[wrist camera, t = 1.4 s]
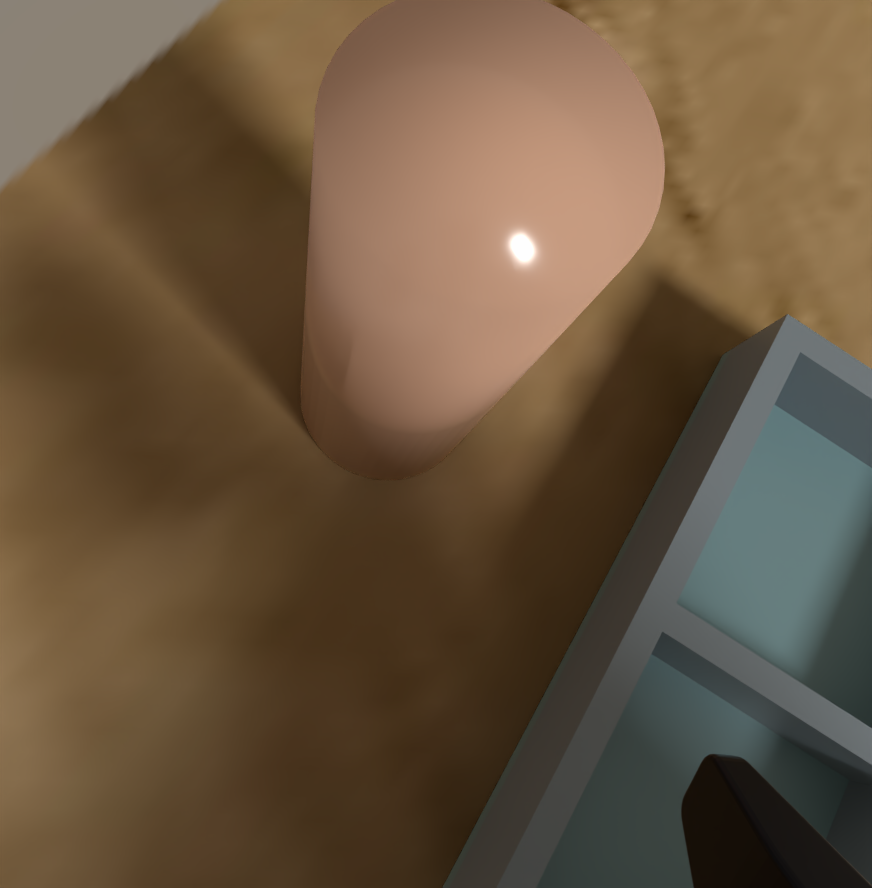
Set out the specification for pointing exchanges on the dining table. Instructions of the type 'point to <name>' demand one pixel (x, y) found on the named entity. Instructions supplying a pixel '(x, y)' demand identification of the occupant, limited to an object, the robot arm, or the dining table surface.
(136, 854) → the dining table surface
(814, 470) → the divided tray
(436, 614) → the dining table surface
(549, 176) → the peach round cylinder
